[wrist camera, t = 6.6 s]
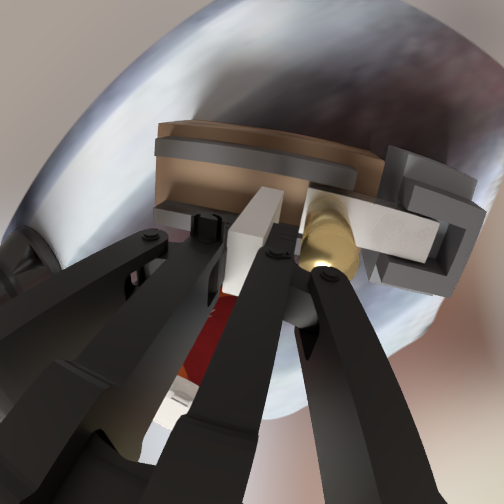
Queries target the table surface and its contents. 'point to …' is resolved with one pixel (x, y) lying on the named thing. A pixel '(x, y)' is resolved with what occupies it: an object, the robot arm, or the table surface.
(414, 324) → the table surface
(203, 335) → the coffee cup
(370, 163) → the door
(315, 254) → the white and gold piece
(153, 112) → the table surface
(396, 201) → the bracket
